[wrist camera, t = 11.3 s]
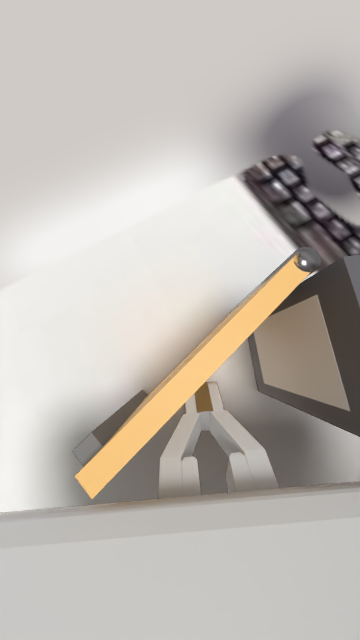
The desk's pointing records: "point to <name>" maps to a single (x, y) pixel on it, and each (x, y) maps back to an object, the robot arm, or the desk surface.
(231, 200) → the desk surface
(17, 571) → the robot arm
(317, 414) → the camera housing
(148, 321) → the desk surface
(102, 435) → the side door
